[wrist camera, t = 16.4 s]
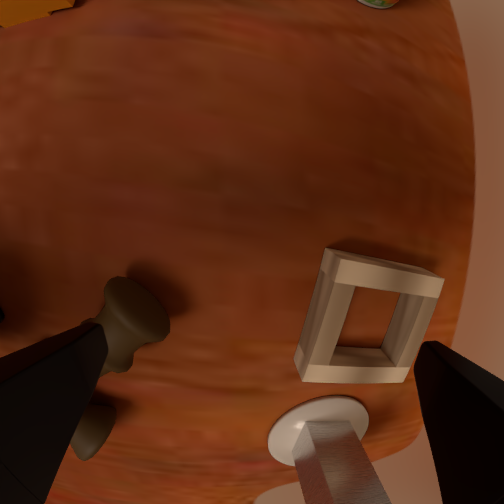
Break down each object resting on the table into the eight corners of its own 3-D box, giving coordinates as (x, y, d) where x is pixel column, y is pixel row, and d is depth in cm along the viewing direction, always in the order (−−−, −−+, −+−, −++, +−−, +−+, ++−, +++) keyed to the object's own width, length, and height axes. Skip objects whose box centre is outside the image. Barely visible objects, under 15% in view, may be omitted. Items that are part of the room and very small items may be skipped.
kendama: (204, 328, 22) (83, 442, 24) (106, 240, 20) (13, 382, 22) (199, 372, 16) (67, 481, 18) (69, 258, 14) (-15, 414, 16)
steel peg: (291, 451, 25) (319, 552, 13) (305, 421, 24) (344, 531, 12) (332, 449, 26) (370, 542, 14) (349, 420, 25) (398, 517, 13)
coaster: (298, 472, 27) (299, 476, 26) (246, 431, 24) (247, 436, 24) (379, 428, 26) (381, 431, 26) (343, 376, 24) (345, 381, 23)
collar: (293, 358, 23) (302, 381, 20) (325, 247, 21) (340, 258, 18) (387, 363, 24) (402, 382, 21) (422, 267, 22) (444, 279, 19)
